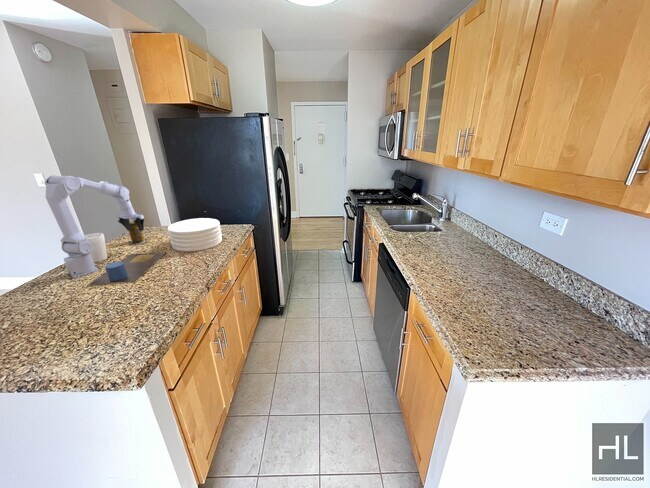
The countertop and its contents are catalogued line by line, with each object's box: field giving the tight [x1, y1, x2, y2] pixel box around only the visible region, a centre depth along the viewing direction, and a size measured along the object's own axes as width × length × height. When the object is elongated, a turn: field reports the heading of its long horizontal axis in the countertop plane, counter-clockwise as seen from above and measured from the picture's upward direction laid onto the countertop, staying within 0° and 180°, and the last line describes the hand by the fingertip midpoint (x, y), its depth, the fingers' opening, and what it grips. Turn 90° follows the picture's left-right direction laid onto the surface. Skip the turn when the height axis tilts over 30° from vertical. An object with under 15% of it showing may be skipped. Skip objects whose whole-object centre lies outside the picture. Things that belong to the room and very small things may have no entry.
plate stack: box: [167, 217, 223, 252], centre depth 157 cm, size 28×28×12 cm
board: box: [89, 252, 167, 285], centre depth 127 cm, size 32×18×1 cm, turn 8°
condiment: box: [128, 221, 146, 246], centre depth 157 cm, size 7×8×12 cm
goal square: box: [130, 254, 156, 262], centre depth 136 cm, size 9×9×1 cm
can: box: [104, 261, 127, 281], centre depth 116 cm, size 7×7×6 cm
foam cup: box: [83, 232, 108, 263], centre depth 133 cm, size 10×9×13 cm
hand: (136, 230), depth 147 cm, fingers open, 7 cm apart
